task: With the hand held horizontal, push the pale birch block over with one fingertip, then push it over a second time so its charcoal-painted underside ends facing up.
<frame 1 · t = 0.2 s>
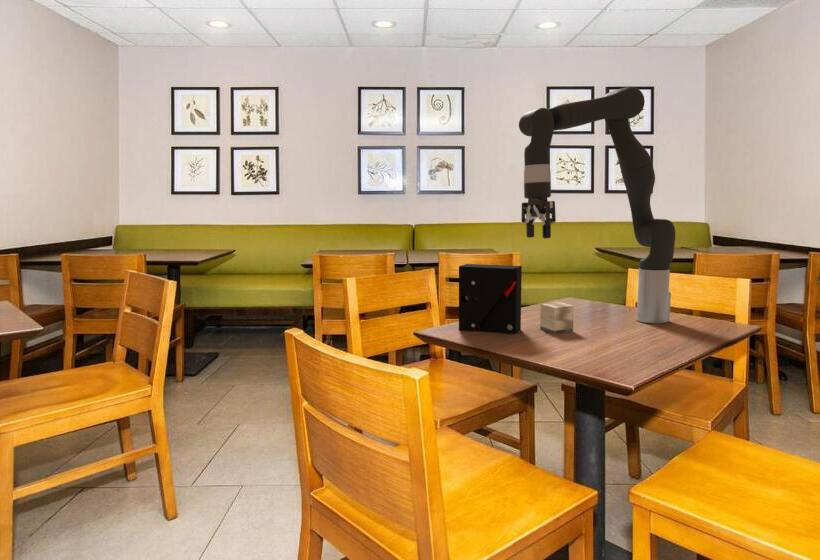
hand: (538, 237, 161), 29 cm above the table, tool pointing down, fingers open, 8 cm apart
electrical component: (490, 330, 171), on the table
birch block: (556, 330, 170), on the table
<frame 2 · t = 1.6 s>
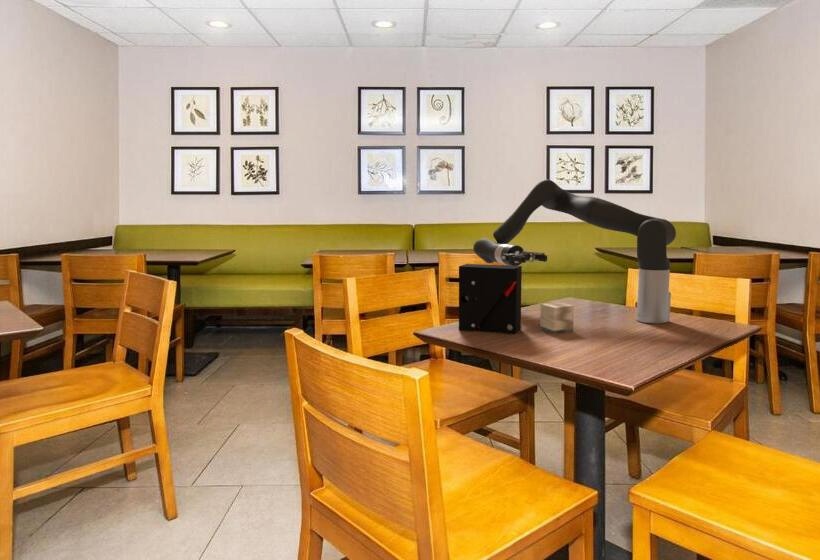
hand: (535, 259, 185), 20 cm above the table, tool horizontal, fingers open, 8 cm apart
nothing on the table moved.
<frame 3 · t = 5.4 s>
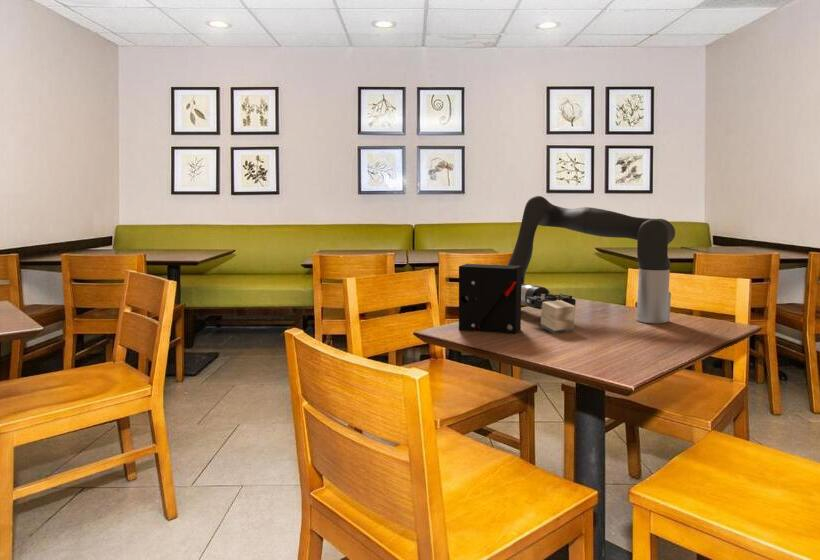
hand: (563, 303, 173), 7 cm above the table, tool horizontal, fingers open, 8 cm apart
birch block: (556, 329, 170), on the table, tilted 6°, touching gripper
everything else where it was.
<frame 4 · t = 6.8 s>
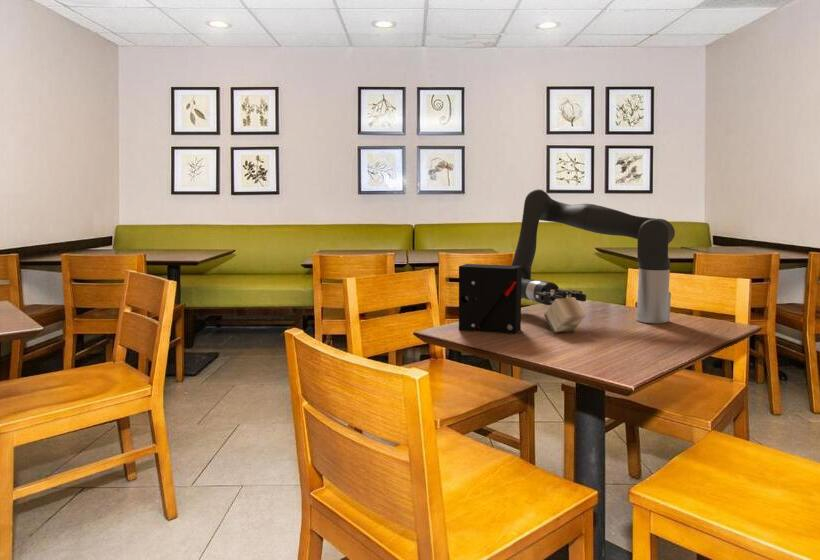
hand: (573, 299, 168), 10 cm above the table, tool horizontal, fingers open, 8 cm apart
birch block: (558, 323, 168), point 2 cm above the table, tilted 43°, touching gripper
everything else where it was.
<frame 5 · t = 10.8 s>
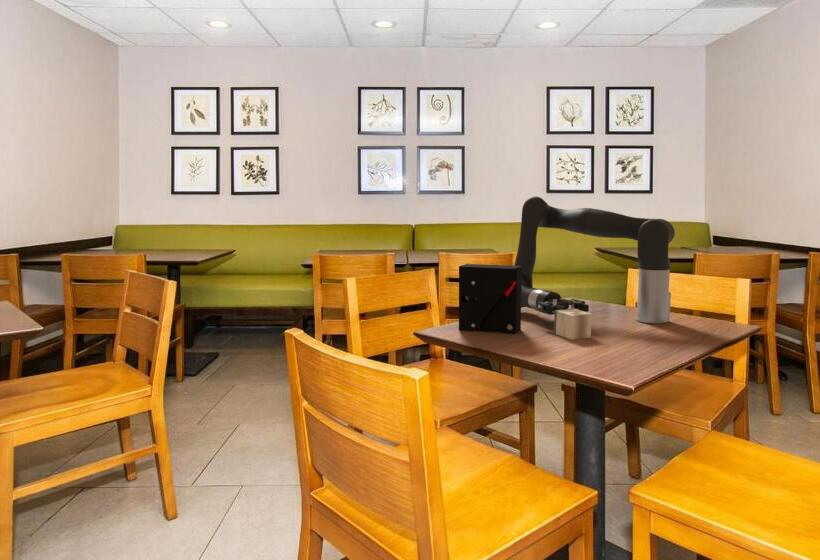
hand: (576, 309, 167), 7 cm above the table, tool horizontal, fingers open, 8 cm apart
birch block: (563, 320, 166), point 4 cm above the table, tilted 91°, touching gripper
everything else where it was.
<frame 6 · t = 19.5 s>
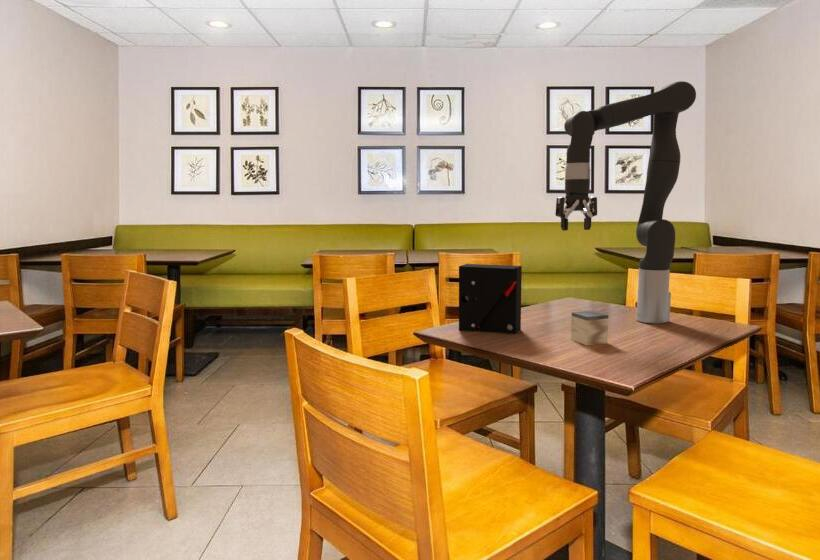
hand: (576, 230, 175), 30 cm above the table, tool pointing down, fingers open, 8 cm apart
birch block: (589, 313, 155), point 8 cm above the table, tilted 180°
everything else where it was.
at the end: birch block tilted 180°; birch block inside the target area (2.1 cm from its centre), point 7.9 cm above the table; the gripper is holding nothing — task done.
